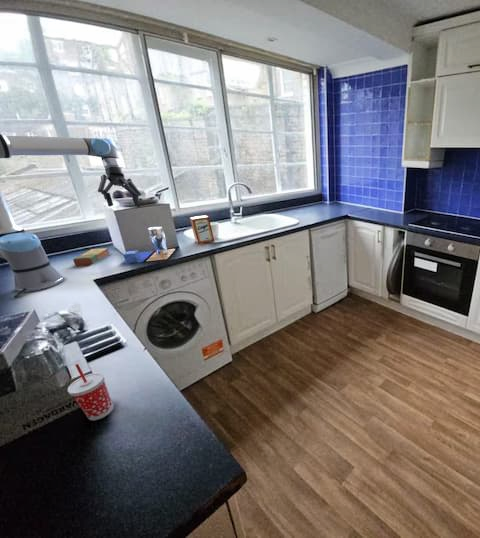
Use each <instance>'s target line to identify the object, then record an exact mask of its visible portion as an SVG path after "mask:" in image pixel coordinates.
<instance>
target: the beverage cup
mask: <svg viewBox="0 0 480 538" xmlns="http://www.w3.org/2000/svg"><path fill="white" fill-rule="evenodd" d="M74 365H75V368H76V369H77V372H78V373H79V376H80V377H79V378H78V379H76V380H74V381H73V382H71V384H69V386H68V387H67V393H68V394H69V395H70V396H71V397H73V399H74V400H75V401H76V403H77V404H78V405H79V407H80V409H81V410H82V412H83V413H84V414H85V416H86V417H87V419H88V420H90V421H98V420H100V419H103V418H105V417H106V416H108V415H109V414H110V413H111V412H112V411H113V410H114V404H113V401H112V398H111V396H110V393H109V390H108V387H107V385H106V382H105V379H106V378H105V375H104V373H102V372H92V373H88V374H84V372H83V371H82V369H81V367H80V365H79V363H76V364H74Z"/></svg>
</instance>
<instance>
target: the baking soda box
mask: <svg viewBox="0 0 480 538" xmlns="http://www.w3.org/2000/svg"><path fill="white" fill-rule="evenodd" d="M189 221H190V225H191V229H192V233H193V237H194V241H195V243H196V244H198V245H201V244H205V243H209V242H215V238H214V234H213V230H212V225H211V221H210V216H208V215H197V216H192V217H189Z"/></svg>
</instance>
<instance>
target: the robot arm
mask: <svg viewBox="0 0 480 538" xmlns="http://www.w3.org/2000/svg"><path fill="white" fill-rule="evenodd" d="M13 156H16V157H17V156H89V157H90V156H92V157H96V158H101V161H102V165H103V167H104V168H103V169H104V171H105V174H102V175H100V183H99V186H98V188H97V192H98V193H101V195H102V196H103V198H104V200H105V201H106V204H107V206H108V207H112V206H114V203H113V199H112V196H111V193H110V190H111V188H112V187H113V186H115V187H116V186H118V187H122V188H124V189H125V190H126V191H127V192H128V193H129V194H130V195H132V200H133V204H134V207H135V206H137V207H139V208H141V205H140V198H139V197H140V196H142V193H141V192H140V191H139V188H137V186H136V185H135V184H134V183H133V181H132V179H131V178H125V173H124V170H123V165H122V163H121V160H120V156H119V153H118V148H117V146H116V143H115V141H113V140H112V139H111V138H107V137H104V138H103V137H93V138H92V137H91V138H90V137H65V136H33V135H4V134H3V133H1V132H0V159H10V158H12V157H13ZM107 180H108V183H107ZM106 183H107V185H106ZM105 186H106V187H105ZM138 199H139V201H138ZM0 259H3V260H6V261H7V263H8V265H9V267H10V269H11V270H12V272H13V274H14V275H13V276H14V277H13V278H14V289H15V290H16V292H17V293H16V294H15V295H13V298H15V299H16V298H18V297H19V296H21V294H23V293H30V292H37V291H40V290H41V291H42V290H45V289H49V288H51V287H54V286H56V285H59V284H61V283H62V282H63V281H64V277H63V275H62V274H61V273H60V272H59V271H58V270H57V269H56V268H54V266H53V265H52V264H51V261H50V260H49V257H48V255H47V253H46V251H45V249H44V247H43V245H42V242H41V240H40V238H39V237H38V235H36V234H35V233H32V232H26V231H25V229H24V227H22V226H20V225H18V224H17V222H16V221H15V219H14V216H13V213H12V212H11V210H10V208H9V205H8V203H7V201H6V199H5V197H4V195H3V192H2V190H1V189H0Z"/></svg>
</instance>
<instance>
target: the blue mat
mask: <svg viewBox="0 0 480 538" xmlns="http://www.w3.org/2000/svg"><path fill="white" fill-rule="evenodd" d="M138 252H139V251H138ZM153 253H155V252H154V250H151V251H141V252H139V255H140V258H141V259H140V260H139V261H138V262H137V263H143V262H144V261H145V260H147V258H149V257H150V255H152V254H153ZM134 263H135V264H136V262H134ZM126 264H127V263H126V261H125V260H124V261H123V262H122V263H121V265H126Z"/></svg>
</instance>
